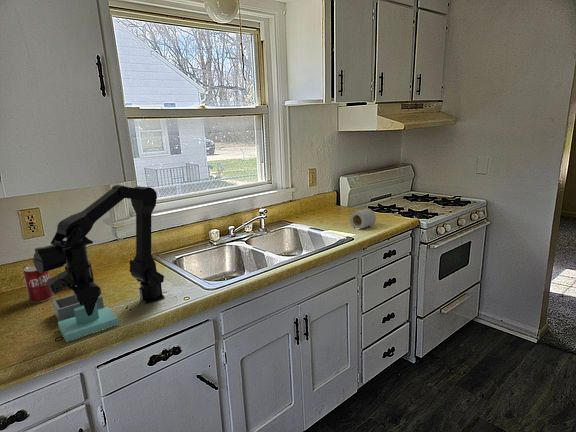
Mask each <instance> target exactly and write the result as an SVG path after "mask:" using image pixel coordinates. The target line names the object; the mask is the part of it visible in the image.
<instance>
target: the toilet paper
mask: <svg viewBox="0 0 576 432" xmlns="http://www.w3.org/2000/svg"><path fill="white" fill-rule="evenodd" d="M376 220H377V217H376V214H375V212H374V211H373V210H372V209H371V208H363V209H360V210H356V211H353V212H352V213H351V214H350V217H349V221H350V222H349V223H350V224H351V225H350V226H352V228H353V227H356V228H361V229H360V230H363V229H365V227H366V228H369V227H372V226H374V224H375V223H376ZM371 225H372V226H371ZM368 226H369V227H368ZM362 228H363V229H362Z"/></svg>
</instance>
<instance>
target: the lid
mask: <svg viewBox="0 0 576 432" xmlns="http://www.w3.org/2000/svg"><path fill="white" fill-rule="evenodd" d="M74 313H75V317H73V318H69V319H66V320H63V321H60V322H59V321H57V324H58V325H57V326H58V329H59V332H60V333H61V336H62V335H63V336H62V337H64V338H63V340H64V339H65V340H64V342H65V341H66V342H67V341H70V340H72V339H76V338H79V337H82V336H85V335H87V334H90V333H93V332H96V331H99V330H102V329H105V328H108V327H111V326H114V325H117V324H119V319H118V317H117V316H116V314H115V313H114V312H113V311H112V310H111V308H110V307H109V306H106V307H104V308H102V309H99V310H98V308H97V304H96V305H95V307H94V310H93V313H92V315H90V316H88V315H87V313H86V310H85V308H84V306H81V307H78V308H75V309H74ZM117 326H118V325H117ZM114 327H115V326H114ZM111 328H112V327H111ZM108 329H109V328H108ZM105 330H106V329H105ZM102 331H103V330H102ZM99 332H100V331H99ZM85 337H86V336H85ZM82 338H83V337H82ZM79 339H80V338H79ZM76 340H77V339H76ZM66 342H65V343H66ZM70 342H71V341H70ZM67 343H68V342H67Z"/></svg>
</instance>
